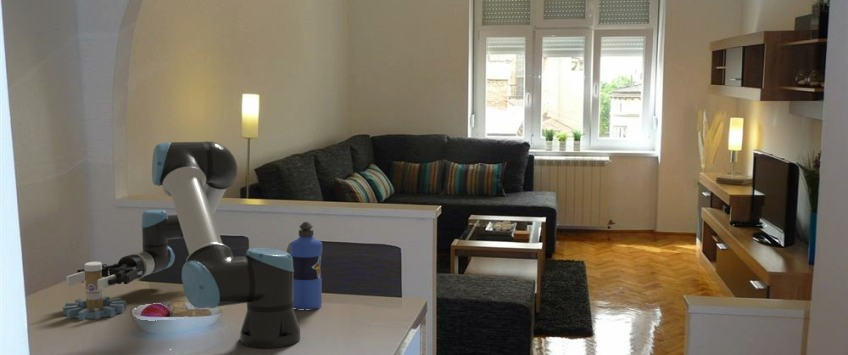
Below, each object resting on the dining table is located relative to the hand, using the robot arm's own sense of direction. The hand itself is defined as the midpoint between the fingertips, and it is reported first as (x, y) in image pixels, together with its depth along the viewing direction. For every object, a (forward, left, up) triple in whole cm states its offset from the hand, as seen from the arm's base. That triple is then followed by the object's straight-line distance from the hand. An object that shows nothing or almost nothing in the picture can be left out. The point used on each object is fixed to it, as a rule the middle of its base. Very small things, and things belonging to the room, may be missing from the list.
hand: (82, 283), depth 222 cm
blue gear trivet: (+4, -1, -9) cm, 10 cm away
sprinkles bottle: (+4, -1, -9) cm, 10 cm away
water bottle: (+16, -59, -10) cm, 62 cm away
